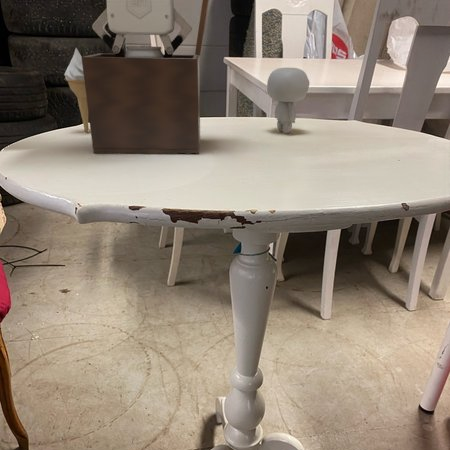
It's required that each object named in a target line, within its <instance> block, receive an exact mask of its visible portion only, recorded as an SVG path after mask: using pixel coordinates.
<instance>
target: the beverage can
mask: <svg viewBox="0 0 450 450" xmlns="http://www.w3.org/2000/svg"><path fill="white" fill-rule="evenodd" d="M125 49H126V51H125V52H124V53H125V57H136V58H163V54H164V52H162V46H151V45H134V46H132V45H131V46H129V45H128V46H126V47H125Z"/></svg>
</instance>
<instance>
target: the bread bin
mask: <svg viewBox="0 0 450 450" xmlns="http://www.w3.org/2000/svg"><path fill="white" fill-rule="evenodd" d="M164 54H165V53H163V55H164ZM82 65H83V73H84V81H85V89H86V97H87V105H88V122H89V129H90V138H91V144H92V146H91V147H92V152H93V154H117V155H119V153H120V154H122V155H123V154H127V155H128V154H131V155H132V154H133V155H134V154H135V155H136V154H137V155H139V154H140V155H179V154H178V153H196V154H195V155H199V154H200V147H201V87H200V85H201V84H200V83H201V80H200V79H201V78H200V76H201V75H200V56H199V55H195V54H173V58H136V57H116V56H115V53H94V54H90V55H85V56H82Z"/></svg>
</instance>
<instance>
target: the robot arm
mask: <svg viewBox="0 0 450 450" xmlns="http://www.w3.org/2000/svg"><path fill="white" fill-rule="evenodd" d="M175 23H176V24H177V25H178V26H179V27H180V31H179V32H178V34H177V35H176V36H175V37H174V38H173V40H171V37H170V35H169V34H171V33H173V32H174V30H175ZM106 25H108V29H109V30H110V31H111V32H112V33H114V34H116V35H115V38H114V37H113V36H112V35H111V34H110V33H108V31H107V30H106V28H105V27H106ZM91 28H92V30H93V31H94V32H95V33H96V34H97V35H98V37H100V38H101V39H102V41H103V43H105V45H107V47H108V48H109V49H111V50H112V52H113V54H115V56H116V57H125V53H126V52H125V49H124V47H125V44H126V41H127V38H128V35H129V36H130V35H131V36H158V37H159V38H160V40H161V44H162V45H163V47H164V48H163V49H164V50H163V51H164V52H163V54H164V55H163V58H173V55H174V53H175V52H176V50H177V49H178V48H179V47H180V46H181V45H182V44H183V42H184V41H185V39H187V37H188V36H189V35H190V33H192V31H193V27H192V25H191V24H190V23H189V22H188V21H187V20H186V18H184V17H183V16H182V14H180V12H179V11H178V10H177V9H176V8H175V6H174V0H106V8H105V9H104V10H103V12H102V13H101V14H100V15H99V16H98V18H97V19H96V20H95V21H94V22H93V24H92V26H91Z"/></svg>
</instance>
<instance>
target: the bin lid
mask: <svg viewBox="0 0 450 450" xmlns="http://www.w3.org/2000/svg"><path fill="white" fill-rule="evenodd" d="M209 3H210V0H202V2H201V7H200V8H201V9H200V15H199V16H200V17H199V23H198V30H197V38H196V45H195V52H194V55H199V57H200V56H201V55H202V52H203V45H204V37H205V33H206V26H207V25H206V24H207V18H208V12H209V6H210V5H209Z"/></svg>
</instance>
